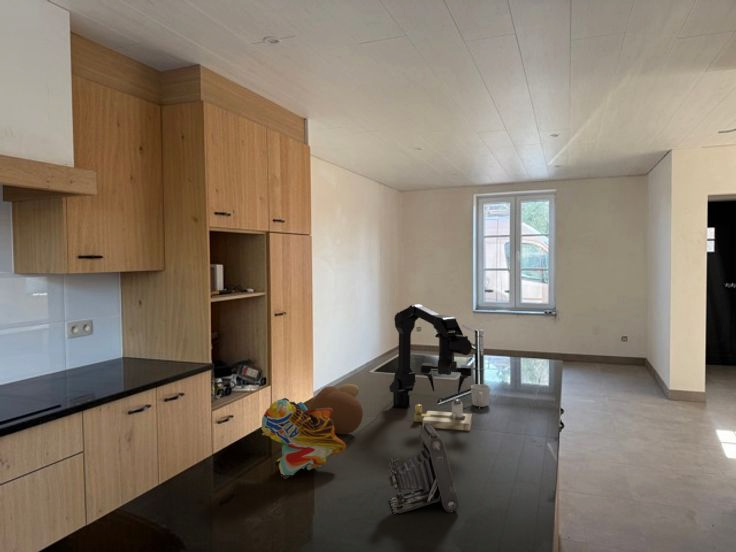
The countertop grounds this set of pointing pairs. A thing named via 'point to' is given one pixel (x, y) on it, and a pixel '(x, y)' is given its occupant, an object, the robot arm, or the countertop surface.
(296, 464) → the multicolored irregular chunky piece
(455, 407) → the cylinder
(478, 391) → the cup
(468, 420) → the dock
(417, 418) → the pin
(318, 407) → the toy
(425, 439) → the camera
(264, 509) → the countertop surface
